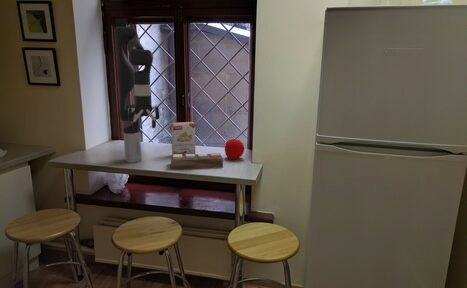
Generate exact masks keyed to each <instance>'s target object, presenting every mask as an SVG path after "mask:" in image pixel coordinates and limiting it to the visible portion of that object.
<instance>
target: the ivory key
mask: <svg viewBox="0 0 467 288" xmlns="http://www.w3.org/2000/svg"><path fill="white" fill-rule="evenodd" d="M173 159H182V154H173Z"/></svg>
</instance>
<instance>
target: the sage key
mask: <svg viewBox="0 0 467 288" xmlns="http://www.w3.org/2000/svg"><path fill="white" fill-rule="evenodd" d="M197 154H198V158H208V155H207V154H208V153H207V152H206V153H205V152H204V153H203V152H202V153H197Z"/></svg>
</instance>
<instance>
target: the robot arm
mask: <svg viewBox="0 0 467 288" xmlns="http://www.w3.org/2000/svg"><path fill="white" fill-rule="evenodd" d="M114 42H115V43H114V44H115V50H116V61H117V63H116V64H117V82H118V83H117V84H118V93H119V94H118V95H119V99H118V100H119V105H118V106H119V110H118V111H119V118H120V120H121V121H123V122H132V123H131V124H128V125H127V126H125V127H123V130H122V131H123V132H122V133H123V141H124V142H123V143H124V159H125V160H124V161H125V163H131V164H132V163H133V164H134V163H140V162H141V161H142V160H143V159H142V143H141V126H140V123H141V122H140V118H141V117H142V118H143V117H150V119H151V128H152V129H155V128H156V127H157V122H156V121H157V120H159V119H160V108H159V106H157V105H155V106H152V104H153V103H152V89H151V71H152V66H153V62H154V54H153V52H152V51H151V50H150V49H145V48H144V46H143V45H142V43H141V41H140V36H139V34H138V31H137V29H136V28H135V27H131V26H116V27H115V29H114ZM124 46H126V48H127V52H128V53H129V54H128V58H127V55H126V54H125V51H124V49H123V47H124ZM134 66H135V67H136V66H140V67H141V66H142V67H143V66H144V68H143V69H142V70H138V71H136V70H135V67H134ZM132 90H133V92H134V93H133V95H134V97H133V98H134V104H126V102H127V99H128V97H129V94H130V93H132ZM152 111H154V115H155V116H154V115H153V113H152Z"/></svg>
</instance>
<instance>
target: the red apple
mask: <svg viewBox="0 0 467 288" xmlns="http://www.w3.org/2000/svg"><path fill="white" fill-rule="evenodd" d="M244 152H245V145H244V143H243V141H242V140H240V139H236V138H230V139H228V140H227V141H226V142H225V144H224V153H225V156H226V157H227V158H228V159H229V160H238V159H240V158H242V156H243V154H244Z"/></svg>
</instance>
